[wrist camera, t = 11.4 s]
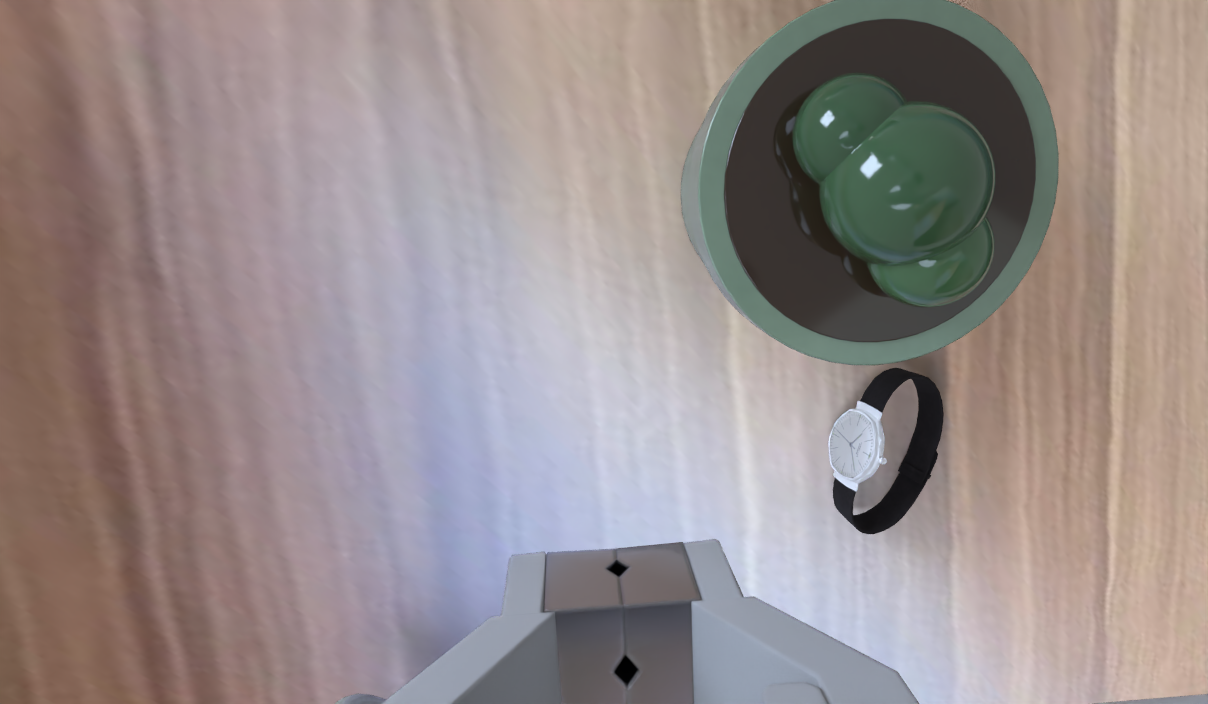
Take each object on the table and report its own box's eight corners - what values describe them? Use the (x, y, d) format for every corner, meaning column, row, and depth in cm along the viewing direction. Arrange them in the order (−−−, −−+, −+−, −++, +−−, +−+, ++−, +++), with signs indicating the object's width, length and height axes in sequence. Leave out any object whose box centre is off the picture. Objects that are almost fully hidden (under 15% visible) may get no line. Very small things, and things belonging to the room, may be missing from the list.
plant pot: (658, 59, 31) (721, -48, 18) (926, 47, 32) (1183, -66, 18) (666, 327, 34) (727, 409, 20) (916, 313, 34) (1137, 385, 21)
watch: (852, 353, 34) (885, 370, 31) (946, 375, 35) (989, 395, 31) (804, 504, 36) (829, 538, 32) (894, 524, 36) (930, 559, 32)
